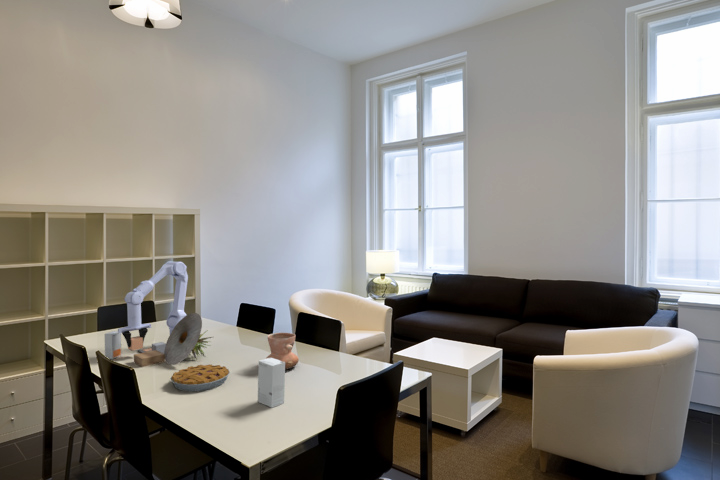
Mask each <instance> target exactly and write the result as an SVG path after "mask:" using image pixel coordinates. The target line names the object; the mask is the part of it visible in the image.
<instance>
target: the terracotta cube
mask: <svg viewBox="0 0 720 480" xmlns="http://www.w3.org/2000/svg"><path fill="white" fill-rule="evenodd" d="M127 349H128V350H130V351H138V350H142V349H144V342H143V338H142V337H140V336H139V335H138V336H133V337H132V336H131V347H128V346H127Z"/></svg>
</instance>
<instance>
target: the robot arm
mask: <svg viewBox="0 0 720 480" xmlns="http://www.w3.org/2000/svg"><path fill="white" fill-rule="evenodd" d="M187 269H188V267H187V265H186V264H185V263H184V262H183V261H172V260H170V261H169V260H168V261H167V262H165V263H164V264H163V265H162V266H161V267H160V269H159V270H158V271H156V273H154V274H153V275H152V277H150V278H149V279H148V280H143V281H140V283H139V285H137V286H136V287H135V288H133V289H132V291H130V292H127V293H126V295H125V297H124V298H123V299H124V301H125V303H126V306H127V309H126V310H127V326H124V327H123V326H122V327H120V328H117V331H118V333H121V335H123V338H124V339H125V341H126V345H127V348H128V347H131V337H132V333H131V332H133V331H138V333H139V335H138V336H139V337H142V338H143V343H145V342H144V341H145V337H146V335H147V333H148V331H149V329H151V328H152V324H151V323H149V322H148V323H142V306H141V305H142V304H141V303H143V302H144V298H145V297H146V296H147V295H148V294H150V292H152V291H153V290H154V286H155V285H157V283H158V282H159V281H161V280H162V279H164V278H165V277H166V276H172V277H173V278H174V279H175V280H176V281H175V288H174V295H173V302H172V303H173V304H172V309H171V311H170V312H168V317H167V318H166V321H165V322H166V325H167V327H168V330H169V335H170V334H171V332H172V331H173V329H174V327H175V326H176V325H177V323H178V322H179V321H180V320H181V319H182V318H184V317H185V316H187V315H188V314H187V313H186V312H185V306H186V305H185V303H186V295H187V288H188V281H189V275H188V272H187Z"/></svg>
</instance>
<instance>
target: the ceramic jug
mask: <svg viewBox="0 0 720 480" xmlns="http://www.w3.org/2000/svg"><path fill="white" fill-rule="evenodd" d="M267 341H268V346H269V349H270V352H271V353H270V354H269V355H267V357H266V358H265V359H267V358H274V359H277V360H280V361H282V362H285V371H286V370H290V369H292V368H294V367H296V365H298V363H299V360H300V359H299V357H298V355H296V353H294V352H293V351H292V350H293V347H294V344H295V342H296V334H295V333H291V332H275V333H270V334H268V335H267Z"/></svg>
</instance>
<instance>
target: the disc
mask: <svg viewBox="0 0 720 480" xmlns="http://www.w3.org/2000/svg"><path fill="white" fill-rule="evenodd" d="M186 315H187V316H185V317H184V318H182V319H181V320H180V321H179V322H178V323H177V325H176V326H175V327H174V329H173V331H172V332H171V334H170V333H169V336H168V338H167V341H166V346H165V351H164V354H165V362H166V363H167V365H168V364H169V365H171V366H172V365H173V366H175V365H177V364H180V363H181V362H182V361H184V360H185V359H186V358H187V357H189V356H191V353H192V355H193V358H194V359H195V361H196V362H197V361H198V360H197V357H199V356H201V355H202V356H203V357H204V358H207V357H206V355H205V352H204V350H203V349H205V348H206V349H207V348H208V347H207V346H209V347H211V346H212V345H211V344H208V343H212V341H211V340H208V339H211V338H213V336H209V337H208V336H207V337H203V336H204V334H205V333H207V332H208V331H209V330H205V331H204V332H203V333H201V332H202V328H203V319H202V317H201V315H200V314H199V313H197V312H191V313H188V314H186ZM202 348H203V349H202Z"/></svg>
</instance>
